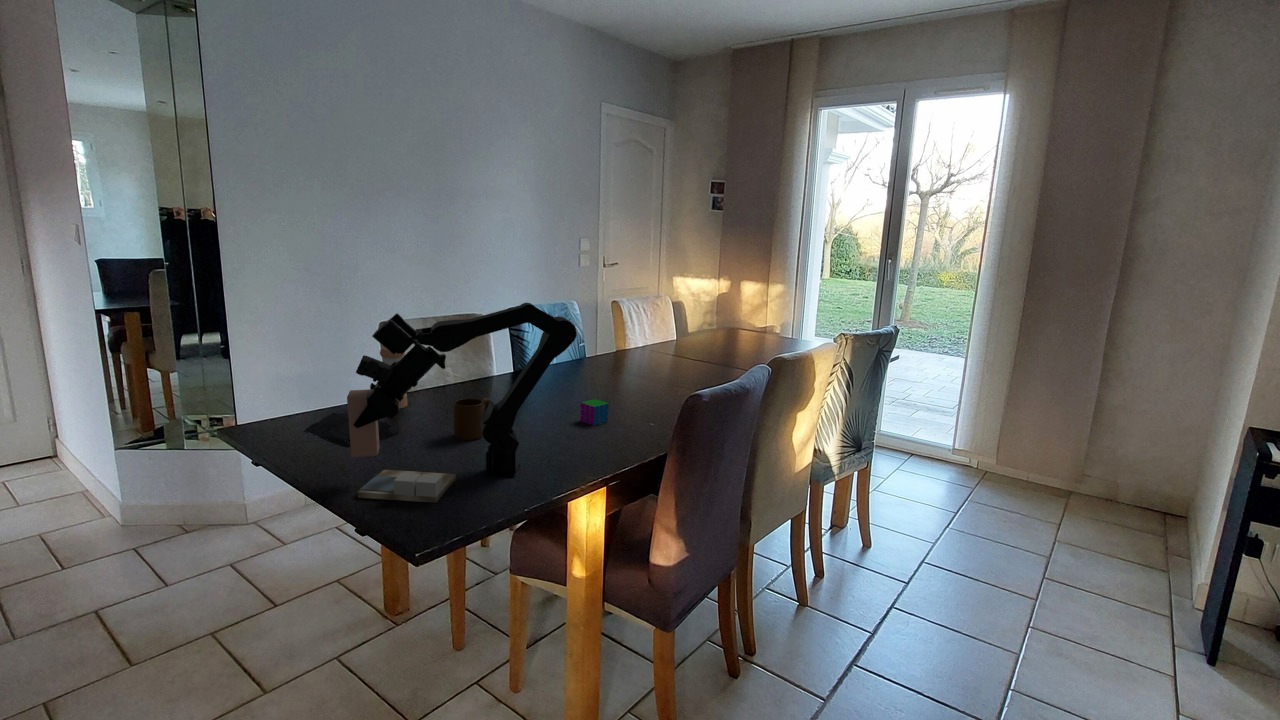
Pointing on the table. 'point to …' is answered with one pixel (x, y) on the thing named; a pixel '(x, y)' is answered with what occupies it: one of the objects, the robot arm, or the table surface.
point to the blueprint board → (384, 487)
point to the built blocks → (418, 484)
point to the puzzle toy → (594, 412)
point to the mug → (469, 418)
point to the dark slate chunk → (344, 429)
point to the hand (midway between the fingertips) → (356, 422)
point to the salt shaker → (388, 359)
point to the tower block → (367, 435)
